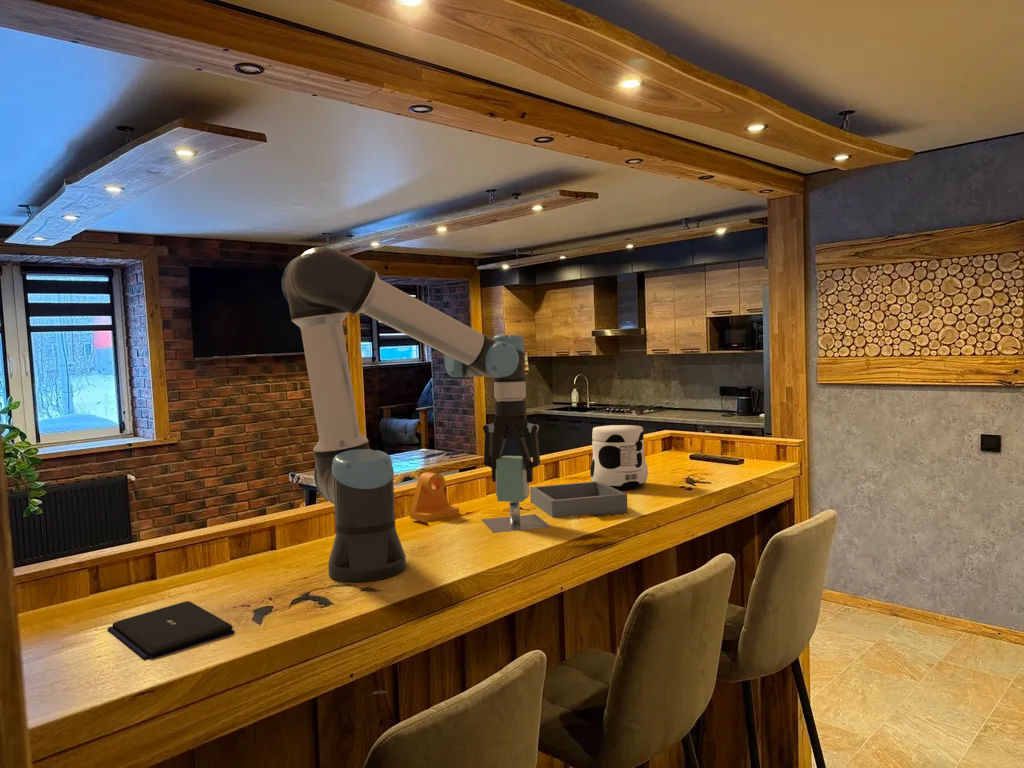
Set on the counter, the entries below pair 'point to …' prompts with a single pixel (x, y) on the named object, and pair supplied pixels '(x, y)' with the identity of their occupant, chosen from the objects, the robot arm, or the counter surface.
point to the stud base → (515, 527)
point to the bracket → (431, 499)
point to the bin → (579, 499)
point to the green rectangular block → (510, 478)
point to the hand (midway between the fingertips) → (512, 495)
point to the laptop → (169, 630)
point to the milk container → (619, 456)
